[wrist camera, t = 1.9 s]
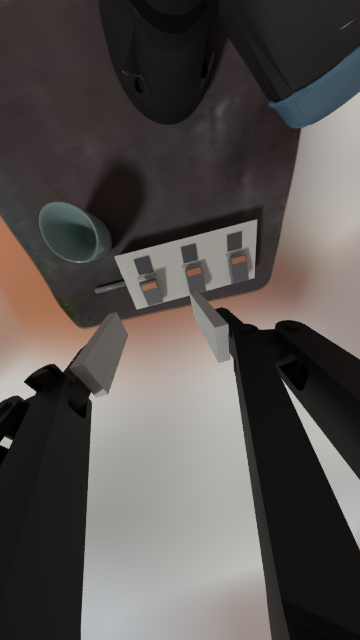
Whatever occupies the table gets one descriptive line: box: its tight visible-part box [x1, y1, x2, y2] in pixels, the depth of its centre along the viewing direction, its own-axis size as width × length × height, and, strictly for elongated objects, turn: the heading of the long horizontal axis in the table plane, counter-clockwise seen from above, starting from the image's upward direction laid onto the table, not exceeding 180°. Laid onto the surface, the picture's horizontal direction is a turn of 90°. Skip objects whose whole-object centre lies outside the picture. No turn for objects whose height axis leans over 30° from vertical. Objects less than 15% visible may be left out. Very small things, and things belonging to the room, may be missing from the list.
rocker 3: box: [228, 254, 249, 284], centre depth 30 cm, size 6×4×1 cm, turn 13°
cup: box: [39, 201, 112, 263], centre depth 24 cm, size 8×8×10 cm
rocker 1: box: [139, 278, 163, 306], centre depth 30 cm, size 6×4×1 cm, turn 12°
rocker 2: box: [184, 266, 206, 293], centre depth 30 cm, size 6×4×1 cm, turn 13°
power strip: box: [94, 220, 257, 309], centre depth 32 cm, size 12×39×4 cm, turn 103°
